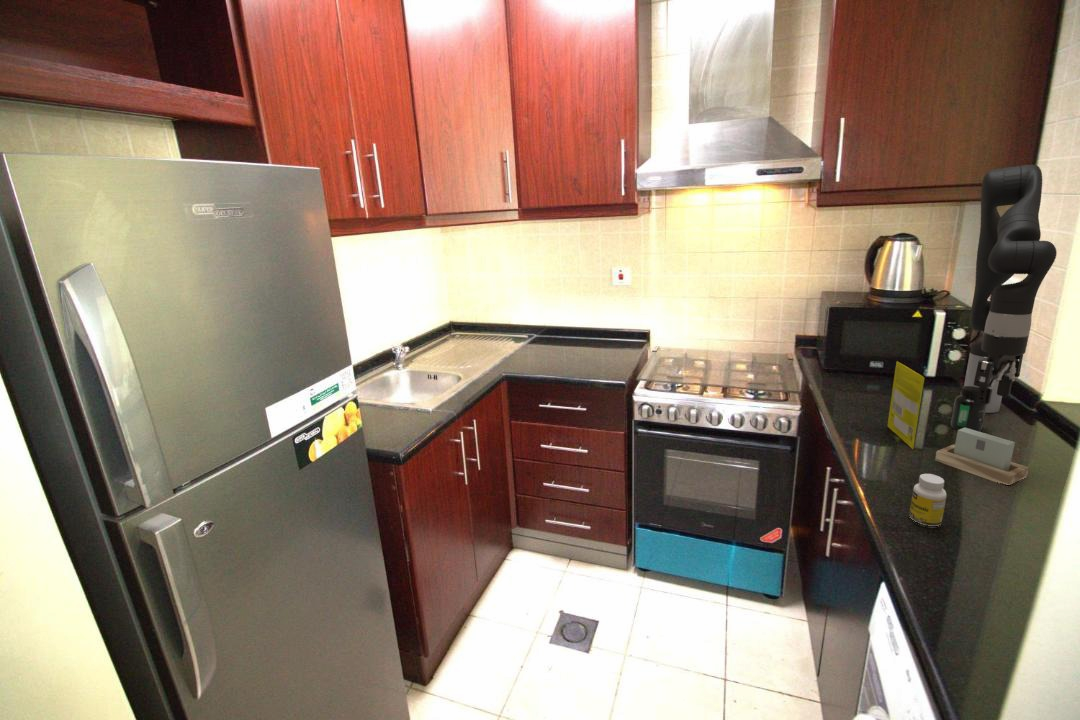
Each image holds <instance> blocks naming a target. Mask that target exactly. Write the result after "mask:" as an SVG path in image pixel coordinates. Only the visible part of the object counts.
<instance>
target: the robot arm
mask: <svg viewBox="0 0 1080 720" xmlns="http://www.w3.org/2000/svg"><path fill="white" fill-rule="evenodd" d="M980 189H981V191H980V227H979V228H980V229H979V230H980V231H979V237H978V245H977V252H976V261H975V262H976V263H975V264H976V265H975V284H974V285H975V286H974V292H973V298H972V302H971V303H972V304H971V308H970V309H971V310H970V316H969V326H970V328H971V329H972V330H973V331H977V332H983V334H982V336H983V337H982V341H977V342H973V343H972V344H971V346H970V351H969V355H968V356H969V357H968V362H967V367H966V371H965V372H966V373H965V378H964V379H965V380H964V383H963V384H964V385H963V387H964V386H974V387H979V391H978V396H977V402H978V403H982V404H986V410H985V414H987V413H992V414H993V413H998V412H1000V407H1001V403H1002V399H1003V398H1008V397H1009V396H1010V395H1011V390H1012V386H1013V382H1015V380H1016V378H1019V377H1020V375H1021V374H1020V373H1021V371H1022V370H1021V368H1022V363H1023V358H1024V355H1025V353H1026V351H1027V346H1028V343H1029V336H1030V332H1031V327H1032V318H1033V317H1032V316H1033V315H1032V314H1033V311H1034V306H1035V301H1036V297H1037V293H1038V291H1039V289H1040V286H1041V284H1042V283H1043V281H1044V279H1045V277H1046V276H1047V274H1048V272H1049V271H1050V269H1051V268H1052V267H1053V265H1054V263H1055V261H1056V258H1057V247H1056V246H1055V244H1053V242H1051V241H1048V240H1041V237H1042V234H1041V227H1040V220H1039V216H1040V215H1039V214H1040V208H1041V202H1042V193H1043V173H1042V170H1041V168H1040V166H1039V165H1036V164H1023V165H1022V164H1021V165H1016V166H1009V167H1003V168H995V169H992V170H989V171H987V172H986V173H985V174H984V176H983V179H982V181H981V188H980ZM1002 206H1003V207H1004V206H1005V207H1006V206H1011V207H1010V208H1008V209H1007V210H1006V211H1005V212H1004V213H1003V214H1002V215H1001V216H1000V214H999V211H998V207H1002ZM1014 275H1026V276H1025V278H1023V279H1022V280H1021V281H1018V282H1014V283H1006V282H1008V280H1009V281H1010V279H1011V278H1012V277H1013V276H1014ZM1005 283H1006V284H1005ZM990 297H991V300H988V299H989V298H990Z"/></svg>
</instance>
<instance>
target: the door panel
mask: <svg viewBox="0 0 1080 720" xmlns="http://www.w3.org/2000/svg"><path fill="white" fill-rule="evenodd" d="M955 438H956V439H955V443H954V444H955V449H954V454H956V455H959V456H962V457H965V458H968V459H971V460H974V461H977V462H980V463H983V464H986V465H989V466H992V467H995V468H998V469H1000V470H1003V471H1006V472H1009V468H1010V463H1011V462H1012V458H1013V454H1014V449H1015V444H1016V442H1015V441H1012V440H1009V439H1005V438H1002V437H999V436H995V435H991V434H989V433H984V432H981V431H980V432H979V431H975V430H972V429H968V428H962V429H960V430H957V433H956V437H955Z"/></svg>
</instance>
